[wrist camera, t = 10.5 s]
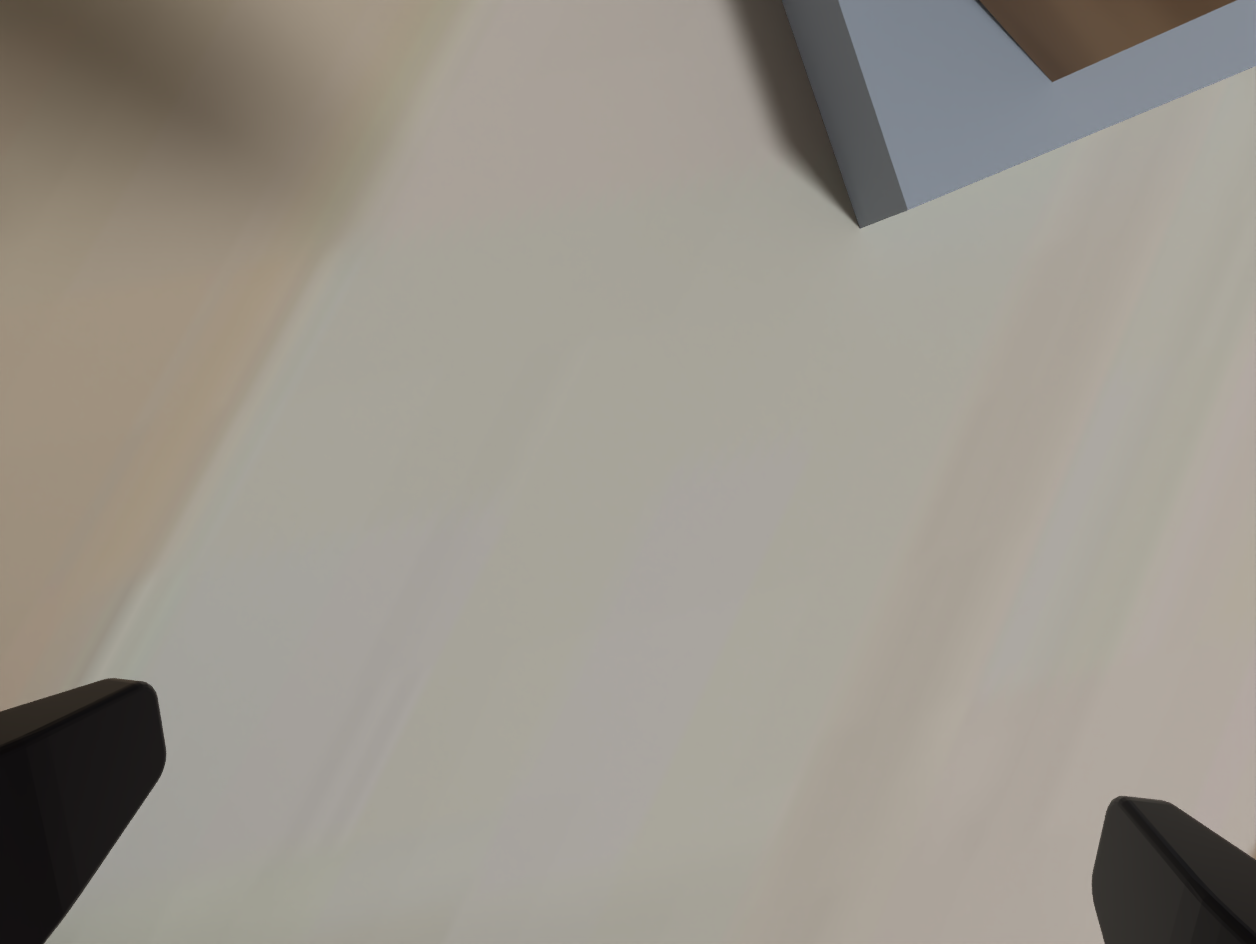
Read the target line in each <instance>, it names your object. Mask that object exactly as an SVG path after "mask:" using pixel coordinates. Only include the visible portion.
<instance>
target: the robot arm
mask: <svg viewBox="0 0 1256 944" xmlns="http://www.w3.org/2000/svg"><path fill="white" fill-rule="evenodd" d="M165 762H166V746H165V740H164V734H163V728H162V721H161V715H160V709H159V703H158V698H157V694H156V692H155V690H154V689H153V687H152V686H151V685H149V684H148V683H146V682H142V681H134V680H125V679H117V678H110V679H104V680H101V681H97V682H94V683H91V684H88V685H85V686H81V687H78V688H75V689H72V690H68V691H65V692H62V693H59V694H56V695H52V696H49V697H46V698H43V699H39V700H36V701H33V702H30V703H27V704H23V705H20V706H17V707H14V708H10V709H7V710H4V711H1V712H0V944H44V943H45V942H46V940H47V939H48V938H49V936H50V935H51V934H52V933H53V931H54V930H55V929H56V927H57V926H58V925H59V924H60V922H61V921H62V920H63V918H64V917H65V916H66V914H67V913H68V911H69V910H70V909H71V907H72V906H73V904H74V903H75V902H76V900H77V899H78V897H79V896H80V895H81V893H82V892H83V890H84V889H85V887H86V886H87V884H88V883H89V881H90V880H91V878H92V877H93V875H94V874H95V873H96V871H97V870H98V868H99V867H100V865H101V864H102V862H103V861H104V859H105V858H106V856H107V855H108V853H109V852H110V850H111V849H112V848H113V846H114V845H115V843H116V842H117V840H118V839H119V837H120V836H121V834H122V833H123V831H124V830H125V828H126V827H127V825H128V824H129V823H130V821H131V820H132V818H133V817H134V815H135V814H136V812H137V811H138V809H139V808H140V806H141V805H142V803H143V802H144V800H145V799H146V798H147V796H148V795H149V793H150V792H151V790H152V789H153V787H154V786H155V784H156V783H157V781H158V780H159V778H160V776H161V774H162V772H163V769H164V766H165ZM1092 895H1093V902H1094V906H1095V910H1096V913H1097V917H1098V921H1099V924H1100V928H1101V932H1102V935H1103V939H1104V942H1105V944H1256V860H1255V859H1254V858H1252V857H1251V856H1249V855H1248V854H1246V853H1245V852H1243V851H1242V850H1240V849H1239V848H1237V847H1236V846H1234V845H1233V844H1231V843H1230V842H1228V841H1227V840H1225V839H1224V838H1222V837H1221V836H1219V835H1218V834H1216V833H1215V832H1213V831H1212V830H1210V829H1209V828H1207V827H1206V826H1204V825H1203V824H1201V823H1200V822H1198V821H1197V820H1195V819H1194V818H1192V817H1191V816H1189V815H1188V814H1186V813H1185V812H1184V811H1182V810H1181V809H1179V808H1178V807H1176V806H1175V805H1173V804H1171V803H1169V802H1166V801H1163V800H1155V799H1146V798H1137V797H1128V796H1118V797H1117V798H1115V799H1113V800H1112V801H1111V803H1110V804H1109V806H1108V808H1107V811H1106V815H1105V820H1104V824H1103V829H1102V833H1101V838H1100V842H1099V847H1098V851H1097V855H1096V860H1095V864H1094V869H1093V874H1092Z"/></svg>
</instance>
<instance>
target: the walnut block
mask: <svg viewBox="0 0 1256 944" xmlns="http://www.w3.org/2000/svg"><path fill="white" fill-rule="evenodd" d="M979 1H980V2H981V3H982V4H983V5H984V6H985V7H986V8H987V10H988V11H989V12H990V13H991V14H992V15H993V16H994V17H995V19H996V20H997V21H998V22H999V23H1000V24H1001V25H1002V26H1003V28H1004V29H1005V30H1006V31H1007V32H1008V33H1009V34H1010V35H1011V36H1012V38H1013V39H1014V40H1015V41H1016V42H1017V43H1018V44H1019V45H1020V47H1021V48H1022V49H1023V50H1024V51H1025V52H1026V53H1027V54H1028V56H1029V57H1030V58H1031V59H1032V60H1033V61H1034V62H1035V63H1036V65H1037V66H1038V67H1039V68H1040V69H1041V70H1042V71H1043V72H1044V74H1045V75H1046V76H1047V77H1048V78H1049V79H1050V80H1051V81H1052V82H1054V81H1056V80H1058V79H1061V78H1063V77H1065V76H1067V75H1070V74H1072V73H1074V72H1076V71H1079V70H1081V69H1083V68H1085V67H1088V66H1090V65H1092V64H1094V63H1097V62H1099V61H1101V60H1103V59H1106V58H1108V57H1110V56H1112V55H1115V54H1117V53H1119V52H1121V51H1124V50H1126V49H1128V48H1130V47H1133V46H1135V45H1137V44H1139V43H1142V42H1144V41H1146V40H1148V39H1151V38H1153V37H1155V36H1157V35H1160V34H1162V33H1164V32H1166V31H1169V30H1171V29H1173V28H1175V27H1178V26H1180V25H1182V24H1185V23H1187V22H1189V21H1191V20H1194V19H1196V18H1198V17H1200V16H1203V15H1205V14H1207V13H1209V12H1212V11H1214V10H1216V9H1218V8H1221V7H1223V6H1225V5H1227V4H1230V3H1232V2H1234V1H1236V0H979Z"/></svg>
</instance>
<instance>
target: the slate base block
mask: <svg viewBox="0 0 1256 944" xmlns="http://www.w3.org/2000/svg"><path fill="white" fill-rule="evenodd" d="M782 3H783V5H784V8H785V11H786V14H787V17H788V20H789V23H790V26H791V29H792V32H793V35H794V38H795V40H796V43H797V46H798V49H799V52H800V55H801V58H802V61H803V64H804V67H805V70H806V72H807V75H808V78H809V81H810V84H811V87H812V90H813V93H814V96H815V99H816V102H817V105H818V107H819V110H820V113H821V116H822V119H823V122H824V125H825V128H826V131H827V134H828V137H829V139H830V142H831V145H832V148H833V151H834V154H835V157H836V160H837V163H838V166H839V169H840V172H841V174H842V177H843V180H844V183H845V186H846V189H847V192H848V195H849V198H850V201H851V204H852V206H853V209H854V212H855V215H856V218H857V221H858V224H859V227H860V228H863V227H865V226H868V225H870V224H873V223H875V222H878V221H881V220H883V219H886V218H888V217H891V216H894V215H896V214H899V213H901V212H904V211H907V210H909V209H911V208H914V207H916V206H919V205H921V204H924V203H926V202H928V201H931V200H933V199H936V198H938V197H940V196H943V195H945V194H948V193H950V192H953V191H955V190H957V189H960V188H962V187H965V186H967V185H969V184H972V183H974V182H977V181H979V180H982V179H984V178H986V177H989V176H991V175H994V174H996V173H998V172H1001V171H1003V170H1006V169H1008V168H1011V167H1013V166H1015V165H1018V164H1020V163H1023V162H1025V161H1027V160H1030V159H1032V158H1035V157H1037V156H1040V155H1042V154H1044V153H1047V152H1049V151H1052V150H1054V149H1056V148H1059V147H1061V146H1064V145H1066V144H1068V143H1071V142H1073V141H1076V140H1078V139H1081V138H1083V137H1085V136H1088V135H1090V134H1093V133H1095V132H1097V131H1100V130H1102V129H1105V128H1107V127H1110V126H1112V125H1114V124H1117V123H1119V122H1122V121H1124V120H1126V119H1129V118H1131V117H1134V116H1136V115H1139V114H1141V113H1143V112H1146V111H1148V110H1151V109H1153V108H1155V107H1158V106H1160V105H1163V104H1165V103H1168V102H1170V101H1172V100H1175V99H1177V98H1180V97H1182V96H1184V95H1187V94H1189V93H1192V92H1194V91H1197V90H1199V89H1201V88H1204V87H1206V86H1209V85H1211V84H1213V83H1216V82H1218V81H1221V80H1223V79H1225V78H1228V77H1230V76H1233V75H1235V74H1238V73H1240V72H1242V71H1245V70H1247V69H1250V68H1252V67H1254V66H1256V0H1236V1H1234V2H1232V3H1230V4H1227V5H1225V6H1223V7H1221V8H1218V9H1216V10H1214V11H1212V12H1209V13H1207V14H1205V15H1203V16H1200V17H1198V18H1196V19H1194V20H1191V21H1189V22H1187V23H1185V24H1182V25H1180V26H1178V27H1175V28H1173V29H1171V30H1169V31H1166V32H1164V33H1162V34H1160V35H1157V36H1155V37H1153V38H1151V39H1148V40H1146V41H1144V42H1142V43H1139V44H1137V45H1135V46H1133V47H1130V48H1128V49H1126V50H1124V51H1121V52H1119V53H1117V54H1115V55H1112V56H1110V57H1108V58H1106V59H1103V60H1101V61H1099V62H1097V63H1094V64H1092V65H1090V66H1088V67H1085V68H1083V69H1081V70H1079V71H1076V72H1074V73H1072V74H1070V75H1067V76H1065V77H1063V78H1061V79H1058V80H1056V81H1054V82H1052V81H1051V80H1050V79H1049V78H1048V77H1047V76H1046V75H1045V74H1044V72H1043V71H1042V70H1041V69H1040V68H1039V67H1038V66H1037V65H1036V63H1035V62H1034V61H1033V60H1032V59H1031V58H1030V57H1029V56H1028V54H1027V53H1026V52H1025V51H1024V50H1023V49H1022V48H1021V47H1020V45H1019V44H1018V43H1017V42H1016V41H1015V40H1014V39H1013V38H1012V36H1011V35H1010V34H1009V33H1008V32H1007V31H1006V30H1005V29H1004V28H1003V26H1002V25H1001V24H1000V23H999V22H998V21H997V20H996V19H995V17H994V16H993V15H992V14H991V13H990V12H989V11H988V10H987V8H986V7H985V6H984V5H983V4H982V3H981V2H980V1H979V0H782Z"/></svg>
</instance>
